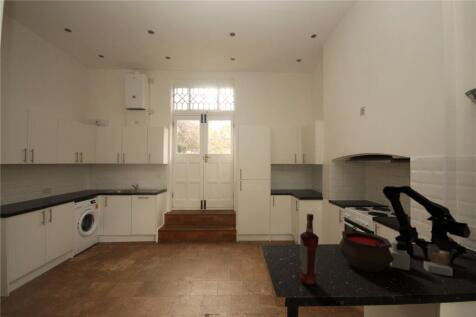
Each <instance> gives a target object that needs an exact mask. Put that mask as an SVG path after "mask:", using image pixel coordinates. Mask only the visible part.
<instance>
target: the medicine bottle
mask: <svg viewBox="0 0 476 317" xmlns="http://www.w3.org/2000/svg"><path fill="white" fill-rule="evenodd" d="M388 248H389V250H390V252H391V254H392V257H393V259H394V260H393V261H392V262H391V263H390V264H389V266H391V267H392V268H396V269H399V270H406V271H410V266H411V264H410V262H411V259H410V258H411V256H410V255H409V254H408V253H407V244H406V243H404V242H402V241H397V240H395V239H394V240H392V241H391V247H388Z"/></svg>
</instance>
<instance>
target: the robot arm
mask: <svg viewBox="0 0 476 317" xmlns="http://www.w3.org/2000/svg"><path fill="white" fill-rule="evenodd" d="M382 193H383V196H384V197H385V198H386V199H387V200H388V201H389V202H390V205H391V207H392V210H393V212H394V214H395V218H396V220H397V223H398V224H399V228H398V232H399V235H397V236H395V237H394V240H397V241H402V242H404V243H406V244H407V253H408V254H409V256H410V257H411V256H412V257H413V256H414V246H413V244H415V245H416V246H418V247H419V248H420V249H421V251H422V254H423V256H424V258H425V260H426V261H428V258H429V256H428V251H429V247H428V246H430V247H431V246H432V247H436V248H438V249H439V251H449V264H452V263H453V262H454V261H455V259H456V258H457V257H458V256H460V255H461V256H462V255H463V254H467V252H468V251H467V248H466V247H465V246H463V245H462V244H460V243H458V241H456V240H454V241H449V237H450V236H449V235H452V236H456V237H460V238H464V239H468V238H469V237H470V235H471V230H470V227H469V226H468V225H469V224H468V223H467V222H459V221H456V219H455V218H454V217H453V216H452V214H451V212H450V210H449V208H448V207H446V206H444V205H441V204H440V203H438V202H435V201H432V200H430V198H429V199H428V198H427V197H426V196H425V195H423V194H421V193H419V192H418V191H417V190H415V189H414V188H412V187H411V186H410V185H402V186H395V185H389V186H388V185H386V186H384V187H383V189H382ZM401 194H405V195H406V196H407V197H409V198H411V200H413V201H415V202H416V203H418V204H419V205H420V206H422V207H423V208H424V209H425V211H426V212H427V213H428V214H429V215H430V216H429V217H428V218H426V220H427V221H430V222H431V230H430V234H431V235H430V236H431V238H429V239H430V240H429V241H428V240H426V239H425V238H421V237H419V235H420V234H419V232H418V230H417V228H416V227H415V226H412V225H411V224H410V222H409V219H408V217H407V215H406V212H405V210H404V207H403V205H402V203H401V200H400V199H401ZM448 233H449V235H448ZM448 236H449V237H448ZM435 244H436V245H435ZM449 264H448V265H449ZM452 265H453V264H452Z"/></svg>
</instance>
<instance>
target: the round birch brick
mask: <svg viewBox="0 0 476 317" xmlns="http://www.w3.org/2000/svg"><path fill="white" fill-rule="evenodd" d="M439 253H441V254H443V255H445V256H446V257H447V265H448V266H449V265H451V266H452V265H453V263H452V264H449V252H446V251H442V250H439Z"/></svg>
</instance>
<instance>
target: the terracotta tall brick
mask: <svg viewBox="0 0 476 317" xmlns="http://www.w3.org/2000/svg"><path fill="white" fill-rule="evenodd" d="M430 262H433V263H438V264H444V265H448V264H447V257H446V256H445V255H443V254H441V253H440V252H434V251H430Z"/></svg>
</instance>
